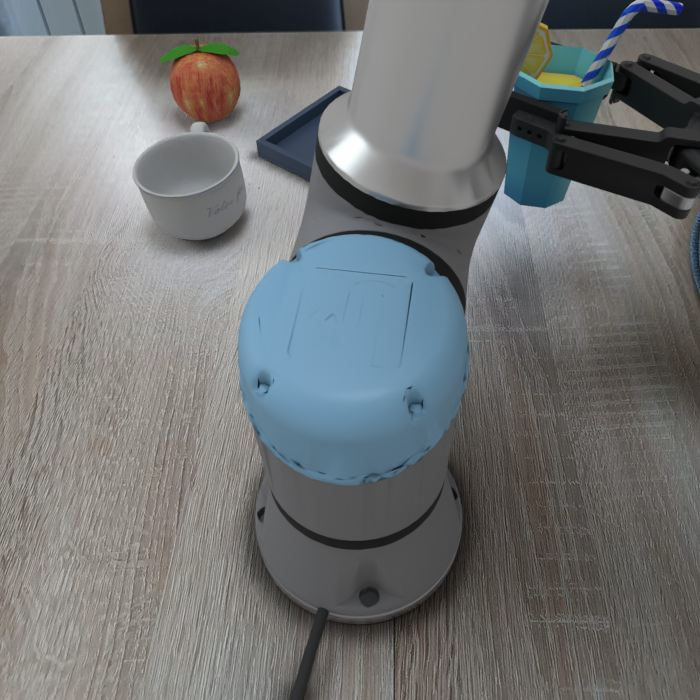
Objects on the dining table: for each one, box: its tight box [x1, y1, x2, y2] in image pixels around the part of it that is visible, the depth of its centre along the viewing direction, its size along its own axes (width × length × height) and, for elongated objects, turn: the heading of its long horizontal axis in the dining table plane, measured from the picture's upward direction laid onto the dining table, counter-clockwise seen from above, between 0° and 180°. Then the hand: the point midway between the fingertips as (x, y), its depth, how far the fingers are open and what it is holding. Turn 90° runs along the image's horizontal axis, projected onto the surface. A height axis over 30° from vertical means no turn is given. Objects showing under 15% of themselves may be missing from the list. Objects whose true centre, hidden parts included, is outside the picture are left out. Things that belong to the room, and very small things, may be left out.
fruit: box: [159, 37, 242, 124], centre depth 81 cm, size 9×10×10 cm
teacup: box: [131, 121, 247, 241], centre depth 70 cm, size 14×11×8 cm
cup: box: [503, 0, 684, 209], centre depth 50 cm, size 14×8×15 cm, turn 100°
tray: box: [255, 85, 352, 182], centre depth 79 cm, size 16×18×2 cm
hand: (509, 77), depth 51 cm, fingers closed on cup, 7 cm apart
